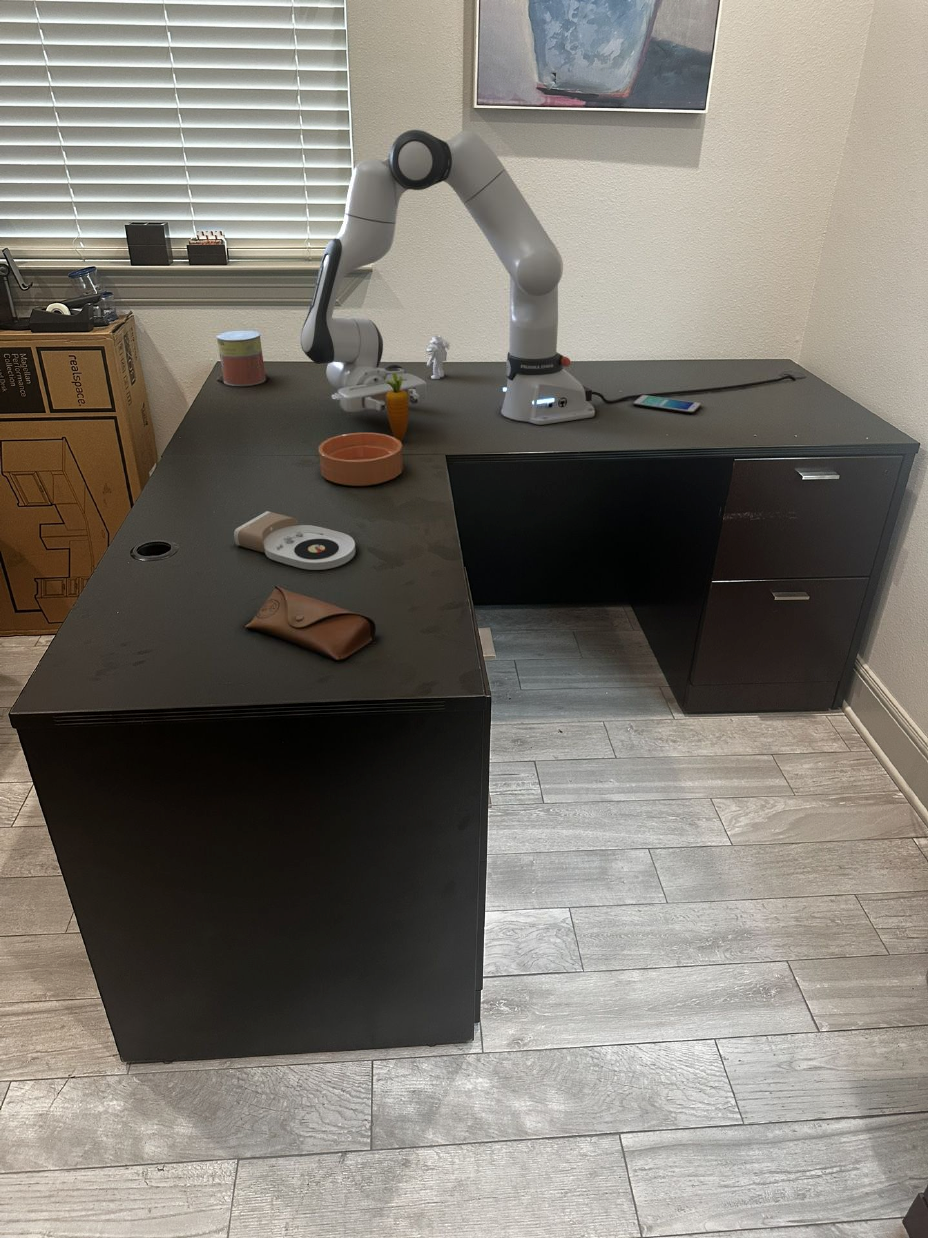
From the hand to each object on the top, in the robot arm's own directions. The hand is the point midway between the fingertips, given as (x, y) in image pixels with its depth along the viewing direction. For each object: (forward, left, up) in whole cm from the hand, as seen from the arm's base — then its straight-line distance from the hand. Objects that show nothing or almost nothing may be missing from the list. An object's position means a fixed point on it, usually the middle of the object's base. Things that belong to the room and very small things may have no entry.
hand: (399, 402), depth 179 cm
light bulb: (-3, -27, -9) cm, 28 cm away
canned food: (+34, -59, -9) cm, 69 cm away
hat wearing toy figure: (-18, -50, -9) cm, 54 cm away
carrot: (0, -1, -9) cm, 9 cm away
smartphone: (-68, -11, -9) cm, 69 cm away
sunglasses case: (+24, +74, -9) cm, 79 cm away
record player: (+24, +47, -9) cm, 54 cm away
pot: (+10, +15, -9) cm, 20 cm away
